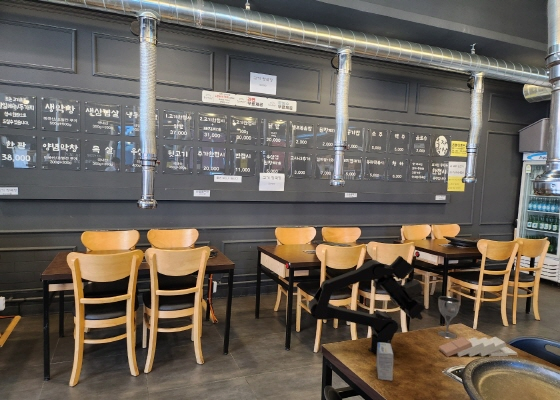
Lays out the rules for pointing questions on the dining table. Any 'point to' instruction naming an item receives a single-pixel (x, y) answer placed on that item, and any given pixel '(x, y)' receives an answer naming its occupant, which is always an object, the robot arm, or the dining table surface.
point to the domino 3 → (487, 346)
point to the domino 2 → (476, 345)
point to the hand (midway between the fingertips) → (421, 318)
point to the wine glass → (448, 313)
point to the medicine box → (384, 361)
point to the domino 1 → (455, 346)
